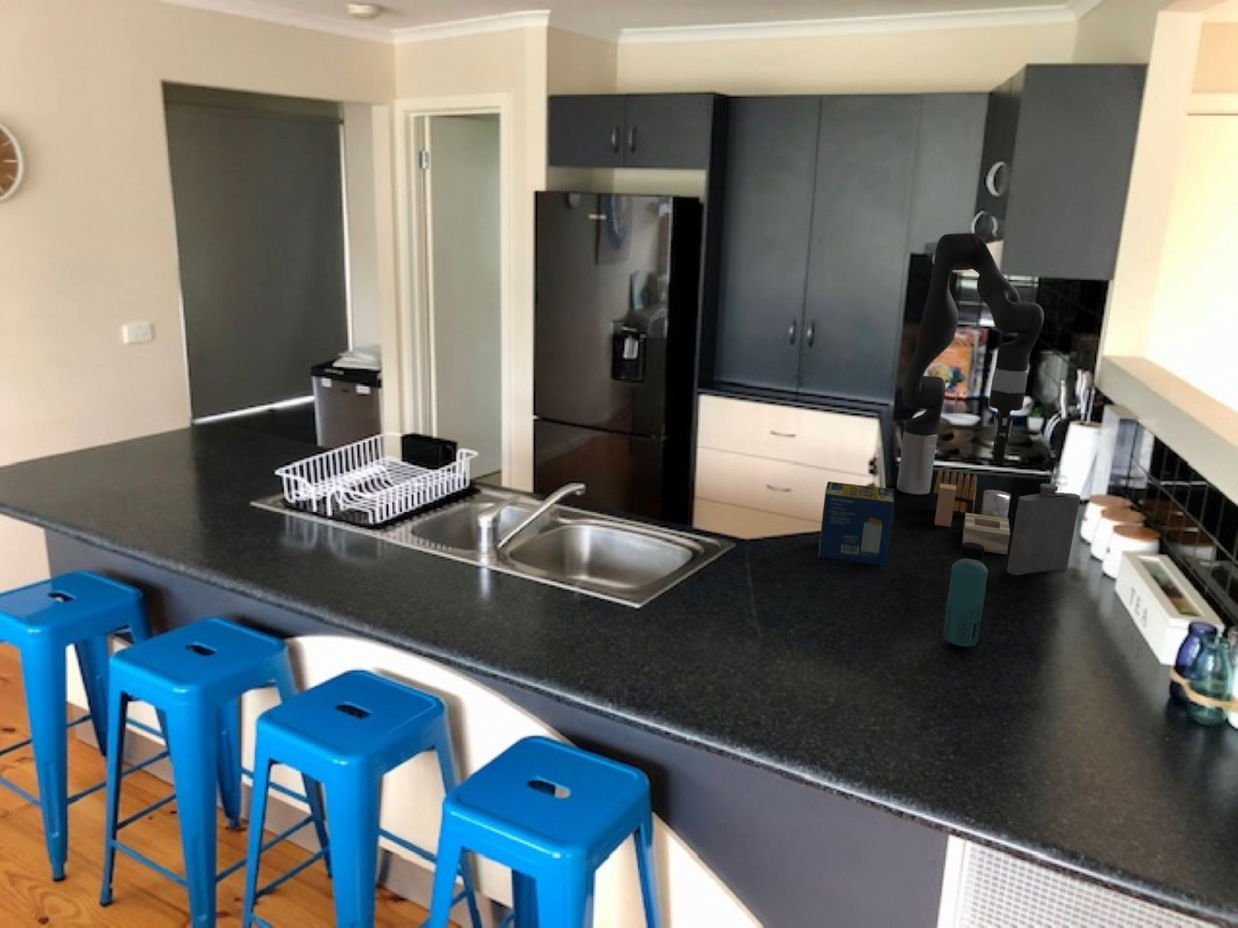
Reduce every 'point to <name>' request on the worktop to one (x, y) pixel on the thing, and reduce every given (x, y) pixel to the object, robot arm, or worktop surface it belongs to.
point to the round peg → (995, 503)
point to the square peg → (945, 505)
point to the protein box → (856, 523)
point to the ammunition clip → (957, 492)
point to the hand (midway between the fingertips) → (997, 455)
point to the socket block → (987, 532)
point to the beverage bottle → (966, 597)
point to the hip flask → (1043, 531)
